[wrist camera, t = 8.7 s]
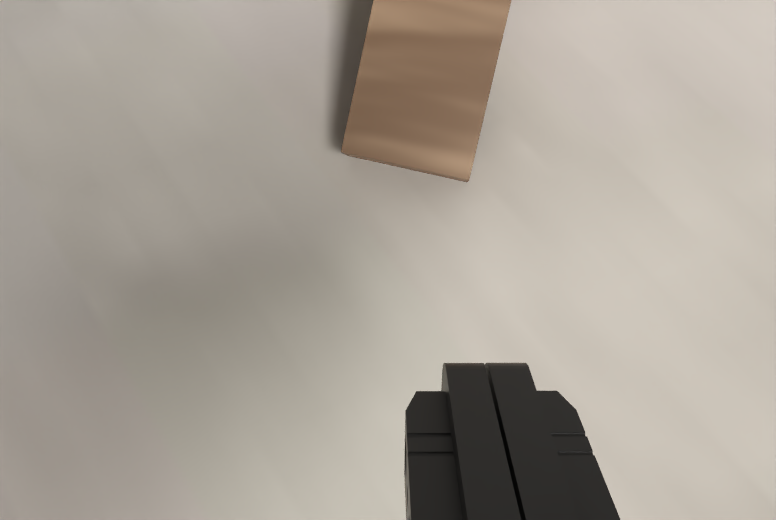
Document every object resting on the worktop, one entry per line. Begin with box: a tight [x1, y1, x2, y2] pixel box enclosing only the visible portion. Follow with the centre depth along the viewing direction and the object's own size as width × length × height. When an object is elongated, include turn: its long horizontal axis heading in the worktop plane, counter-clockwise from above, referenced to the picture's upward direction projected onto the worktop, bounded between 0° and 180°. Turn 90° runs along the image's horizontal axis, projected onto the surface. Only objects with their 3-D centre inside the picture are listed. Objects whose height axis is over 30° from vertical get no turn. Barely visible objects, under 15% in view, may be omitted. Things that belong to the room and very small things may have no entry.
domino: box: [341, 0, 511, 182], centre depth 25 cm, size 2×5×10 cm
